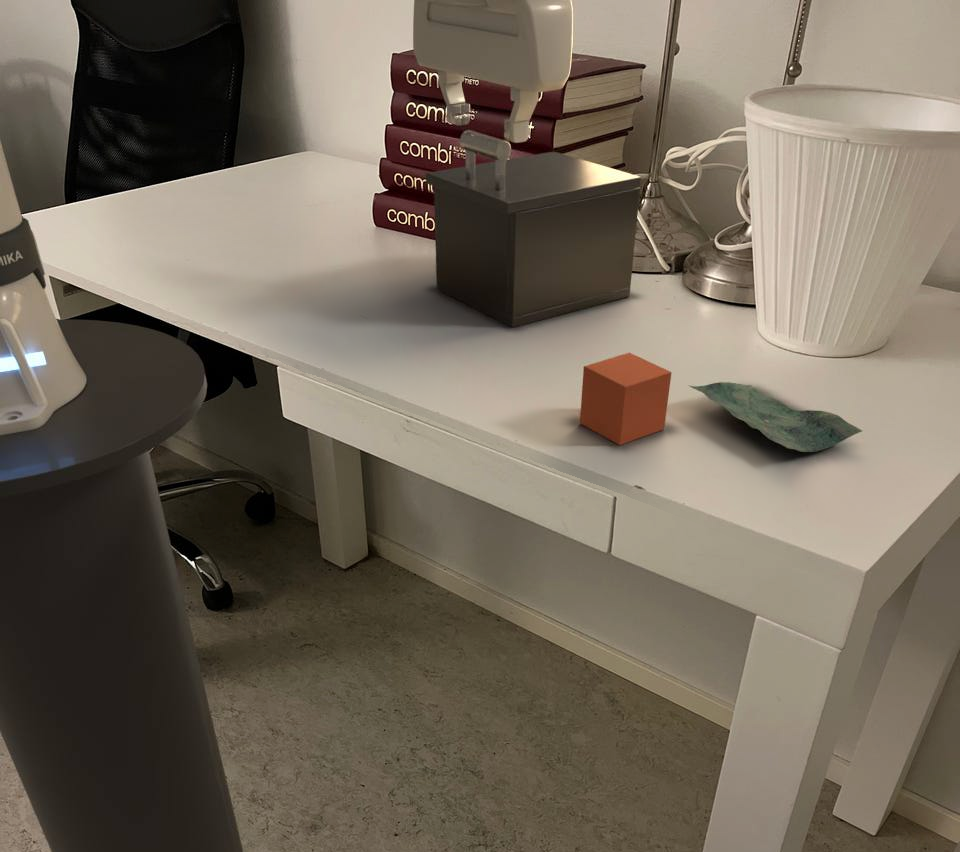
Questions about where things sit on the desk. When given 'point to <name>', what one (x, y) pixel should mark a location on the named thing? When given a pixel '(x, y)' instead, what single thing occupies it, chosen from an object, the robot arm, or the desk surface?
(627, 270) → the black box
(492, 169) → the box lid
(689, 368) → the desk surface
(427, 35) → the robot arm
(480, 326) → the desk surface
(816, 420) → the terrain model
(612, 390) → the terracotta orange cube
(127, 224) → the desk surface
